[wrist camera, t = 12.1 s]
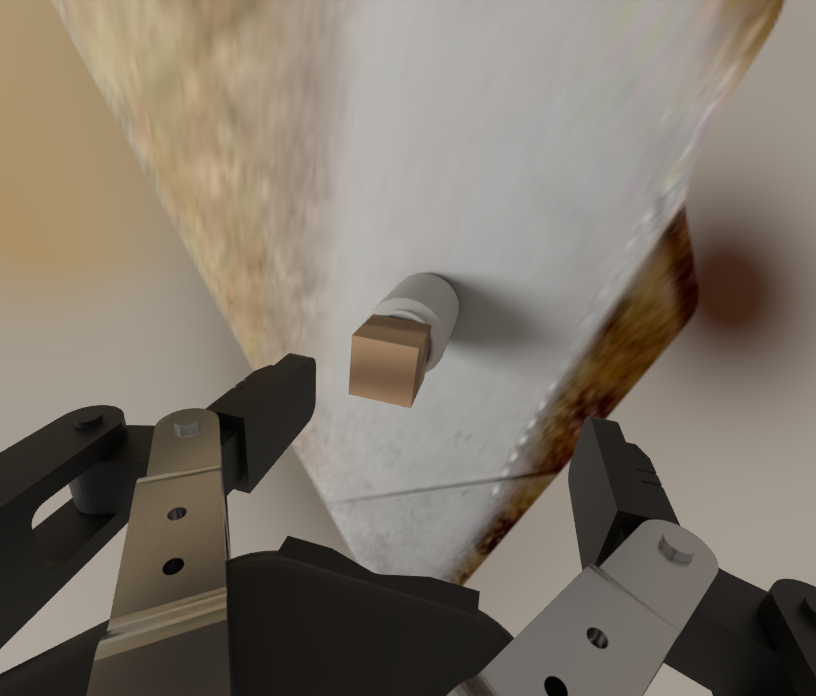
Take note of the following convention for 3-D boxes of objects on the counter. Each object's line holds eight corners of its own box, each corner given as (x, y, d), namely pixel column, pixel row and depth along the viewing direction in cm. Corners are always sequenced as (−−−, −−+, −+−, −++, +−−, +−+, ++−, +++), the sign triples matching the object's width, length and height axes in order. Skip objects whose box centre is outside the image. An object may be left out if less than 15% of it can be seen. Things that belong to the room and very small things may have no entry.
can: (465, 332, 46) (450, 381, 36) (402, 340, 49) (369, 388, 38) (453, 265, 44) (432, 297, 33) (386, 277, 46) (347, 310, 35)
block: (373, 313, 35) (352, 335, 31) (431, 324, 34) (418, 348, 30) (369, 366, 37) (348, 393, 33) (424, 378, 36) (410, 407, 32)
